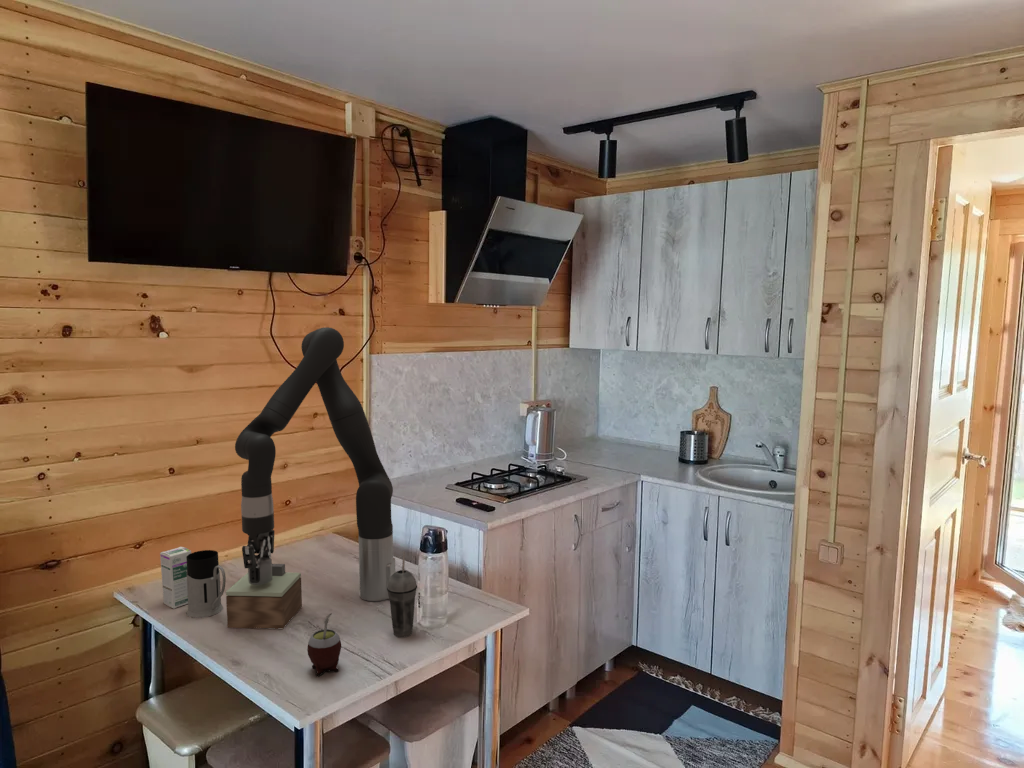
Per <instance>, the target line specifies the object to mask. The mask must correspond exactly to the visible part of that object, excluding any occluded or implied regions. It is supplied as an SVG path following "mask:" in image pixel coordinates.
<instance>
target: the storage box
mask: <svg viewBox="0 0 1024 768" xmlns="http://www.w3.org/2000/svg"><path fill="white" fill-rule="evenodd" d="M302 596H303V595H302V576H301V577H300V578H299V579H298V580H297V581H296V582H295V583H294V584H293V585H292V586H291V587H290V589H289V590H288V591H287V592H286V593H285V594H284V595H283V596H282V597H272V596H228V595H225V602H226V620H227V621H226V623H227V625H226V626H227V628H228V629H232V628H233V629H260V628H275V629H276V630H279V629H278V628H283V629H285V627H286V626H287V625H288V624H289V623H288V622H290V621H291V620H292V619H293V618H294V617H295V615H296V614H298V612H299V611H300V610H299V609H302V607H303V597H302ZM293 616H294V617H293ZM292 617H293V618H292ZM291 618H292V619H291ZM290 619H291V620H290ZM289 620H290V621H289ZM287 623H288V624H287ZM286 624H287V625H286ZM285 625H286V626H285ZM275 629H274V630H275Z"/></svg>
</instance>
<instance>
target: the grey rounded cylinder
mask: <svg viewBox="0 0 1024 768" xmlns="http://www.w3.org/2000/svg"><path fill="white" fill-rule="evenodd" d="M255 559H256V558H255ZM272 564H273V562H272V558H268V557H262V558H261V559H260V565H259V568H260V581H259V582H258V583H251V582H250V569H249V568H247V573H248V579H249V583H250V584H252V585H261V584H266V583H268V582H270V581H272Z"/></svg>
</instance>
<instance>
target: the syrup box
mask: <svg viewBox="0 0 1024 768" xmlns="http://www.w3.org/2000/svg"><path fill="white" fill-rule="evenodd" d="M191 553H192V550H191V549H189V548H187V547H184V546H179V547H176V548H172V549H169V550H166V551H161V552H159V555H160V556H159V559H160V567H161V569H160V572H161V573H160V574H161V586H162V598H163V605H166V606H167V607H169V608H171V609H173V610H175V609H177V608H179V607H183V606H186V605H188V592H187V558H186V557H187V556H188V555H189V554H191Z"/></svg>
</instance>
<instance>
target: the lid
mask: <svg viewBox="0 0 1024 768" xmlns="http://www.w3.org/2000/svg"><path fill="white" fill-rule="evenodd" d="M300 577H301V578H302V573H301V572H289V571H288V572H286V564H285V563H272V581H270V582H268V583H266V584H261V585H252V584H250V583H249V579H248V572H247V573H246V574H245V575H243V576H242V577H241V578H239V580H238V581H236V582H235V583H234V584H233V585H232V586H230V587H229V588H228V589H227V590H226V591H225V596H227V595H228V596H272V597H282V596H283V595H284V594H285V593H286V592H287V591H288V590H289V589H290V587H291V586H292V585H293V584H294V583H295V582H296V581H297V580H298V579H299V578H300Z"/></svg>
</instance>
